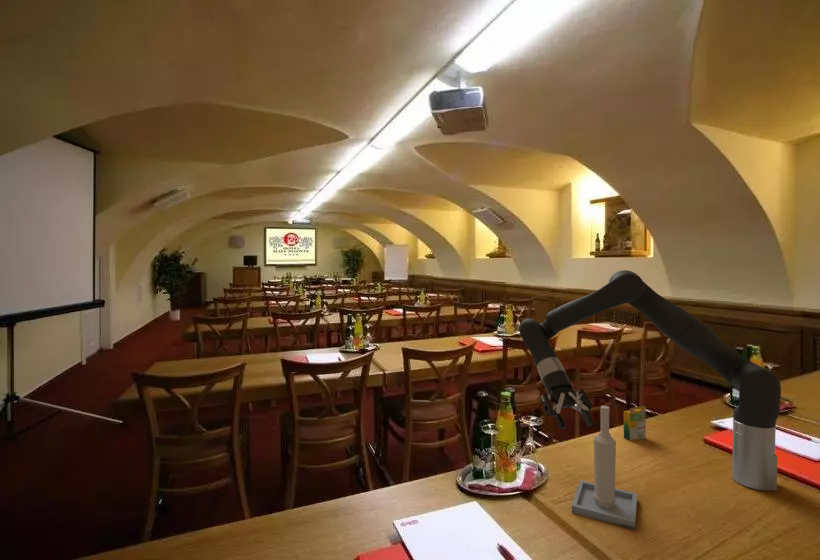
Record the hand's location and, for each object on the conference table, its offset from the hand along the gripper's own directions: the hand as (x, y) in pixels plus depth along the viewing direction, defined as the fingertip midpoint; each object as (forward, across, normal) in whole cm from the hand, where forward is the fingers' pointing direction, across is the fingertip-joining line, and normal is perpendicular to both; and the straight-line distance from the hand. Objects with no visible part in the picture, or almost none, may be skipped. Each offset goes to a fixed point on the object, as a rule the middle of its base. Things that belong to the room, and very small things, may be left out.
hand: (577, 426), depth 116 cm
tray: (+19, 0, +4) cm, 20 cm away
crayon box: (-3, +40, +27) cm, 48 cm away
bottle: (+19, 0, +4) cm, 19 cm away
